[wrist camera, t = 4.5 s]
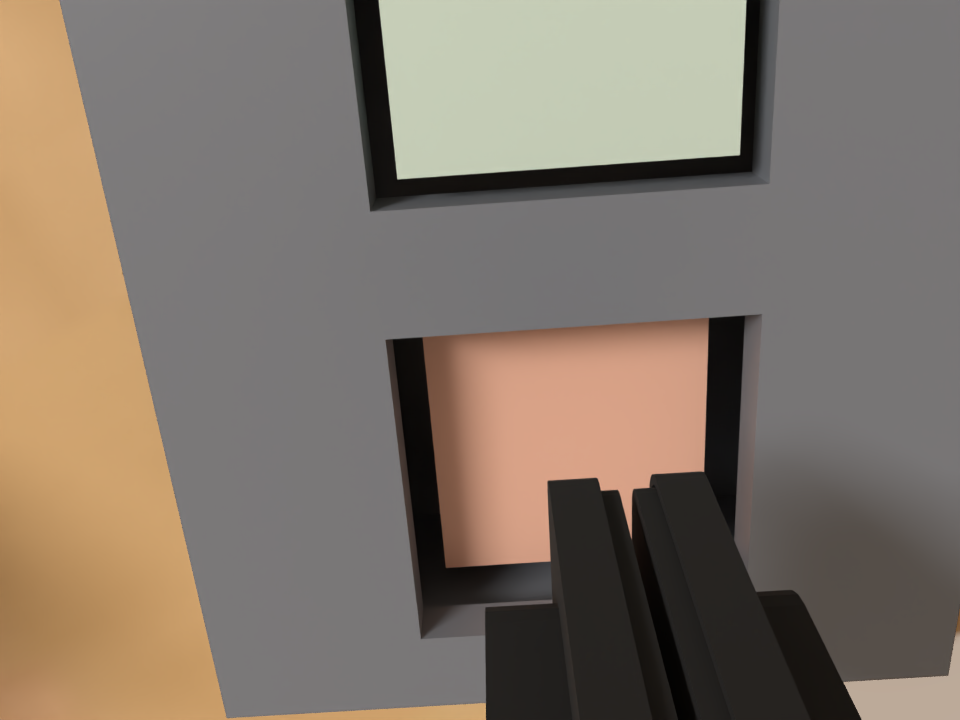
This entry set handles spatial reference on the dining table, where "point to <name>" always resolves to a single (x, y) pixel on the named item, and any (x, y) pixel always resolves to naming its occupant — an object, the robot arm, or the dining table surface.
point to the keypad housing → (527, 327)
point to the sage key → (561, 82)
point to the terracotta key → (557, 424)
